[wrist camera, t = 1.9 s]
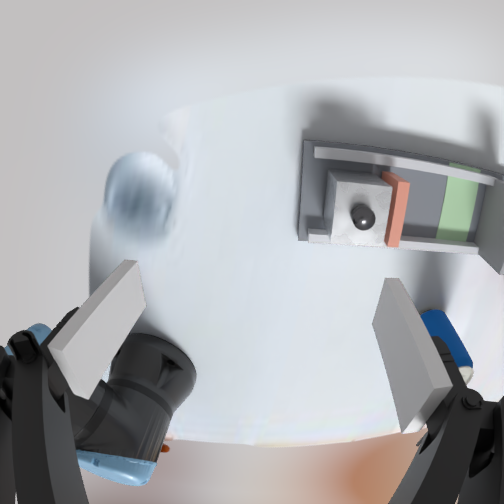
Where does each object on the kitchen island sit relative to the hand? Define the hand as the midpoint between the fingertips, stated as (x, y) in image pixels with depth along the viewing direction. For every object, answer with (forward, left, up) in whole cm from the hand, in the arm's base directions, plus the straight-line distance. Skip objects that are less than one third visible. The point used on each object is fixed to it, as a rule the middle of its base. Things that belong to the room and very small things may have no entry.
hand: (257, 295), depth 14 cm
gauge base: (+17, 0, -20) cm, 26 cm away
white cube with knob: (+8, 0, -19) cm, 20 cm away
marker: (+12, 0, -19) cm, 22 cm away
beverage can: (+24, -18, -20) cm, 36 cm away
